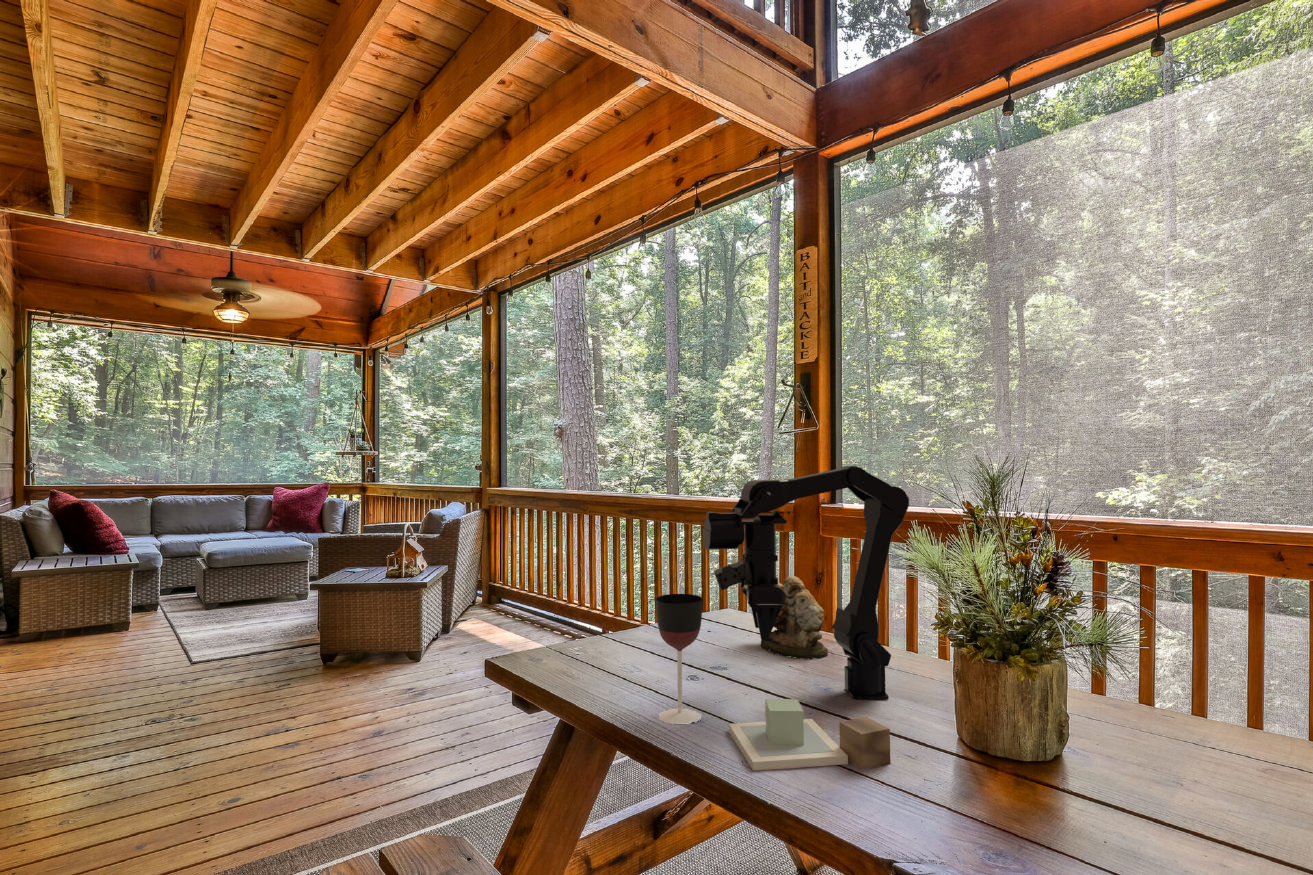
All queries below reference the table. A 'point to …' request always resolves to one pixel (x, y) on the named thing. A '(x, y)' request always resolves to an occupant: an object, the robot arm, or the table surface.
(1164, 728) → the table surface
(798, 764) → the tray
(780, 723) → the sage cube
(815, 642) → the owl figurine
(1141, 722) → the table surface
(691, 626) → the wineglass
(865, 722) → the walnut cube
